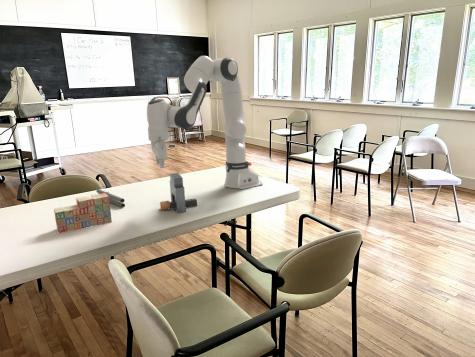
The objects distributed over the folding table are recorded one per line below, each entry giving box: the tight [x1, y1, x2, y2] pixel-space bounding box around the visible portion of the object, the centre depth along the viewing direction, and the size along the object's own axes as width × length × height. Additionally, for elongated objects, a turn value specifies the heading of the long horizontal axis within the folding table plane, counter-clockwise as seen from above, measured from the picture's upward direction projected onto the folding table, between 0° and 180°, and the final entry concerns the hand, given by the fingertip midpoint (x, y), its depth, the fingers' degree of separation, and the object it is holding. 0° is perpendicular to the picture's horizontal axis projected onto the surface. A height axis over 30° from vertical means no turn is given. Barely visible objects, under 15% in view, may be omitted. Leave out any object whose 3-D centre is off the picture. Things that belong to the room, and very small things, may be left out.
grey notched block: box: [169, 172, 187, 214], centre depth 171 cm, size 4×15×16 cm, turn 21°
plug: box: [159, 198, 198, 211], centre depth 172 cm, size 18×4×4 cm, turn 111°
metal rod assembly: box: [95, 188, 126, 208], centre depth 182 cm, size 26×3×5 cm, turn 47°
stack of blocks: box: [53, 193, 113, 234], centre depth 152 cm, size 21×6×12 cm, turn 122°
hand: (160, 165), depth 165 cm, fingers open, 8 cm apart
